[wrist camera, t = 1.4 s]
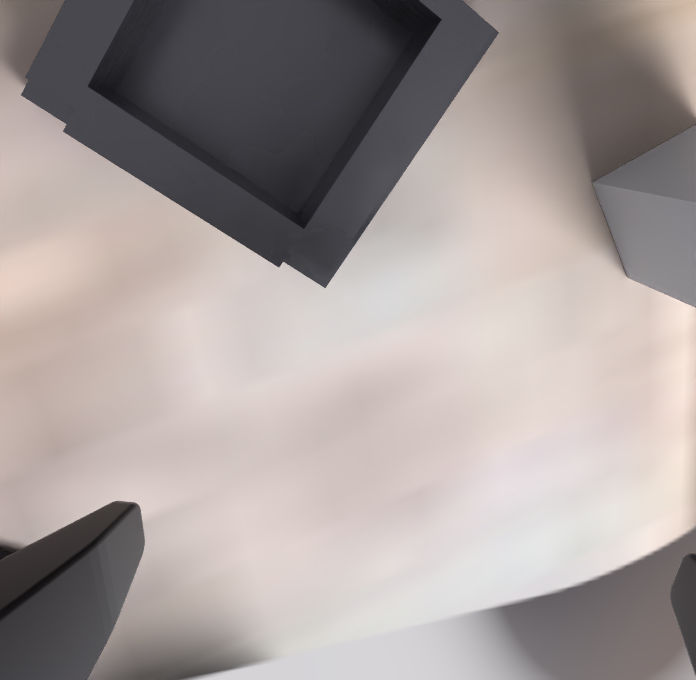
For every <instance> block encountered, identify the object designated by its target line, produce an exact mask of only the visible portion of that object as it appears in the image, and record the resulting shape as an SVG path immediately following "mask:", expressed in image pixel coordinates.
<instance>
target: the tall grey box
mask: <svg viewBox="0 0 696 680" xmlns="http://www.w3.org/2000/svg"><path fill="white" fill-rule="evenodd" d="M592 184H593V186H594V189H595V192H596V194H597V197H598V200H599V202H600V205H601V208H602V210H603V213H604V216H605V218H606V221H607V224H608V226H609V229H610V232H611V234H612V237H613V240H614V242H615V245H616V247H617V250H618V253H619V255H620V258H621V261H622V263H623V266H624V269H625V271H626V274H627V277H628V278H630V279H632V280H634V281H636V282H639V283H641V284H643V285H646V286H648V287H650V288H652V289H655V290H657V291H659V292H662V293H664V294H666V295H668V296H671V297H673V298H675V299H678V300H680V301H682V302H684V303H687V304H689V305H691V306H694V307H696V125H694V126H692V127H690V128H689V129H687V130H685V131H683V132H681V133H680V134H678V135H676V136H674V137H672V138H671V139H669V140H667V141H665V142H663V143H662V144H660V145H658V146H656V147H655V148H653V149H651V150H649V151H647V152H646V153H644V154H642V155H640V156H638V157H637V158H635V159H633V160H631V161H629V162H628V163H626V164H624V165H622V166H620V167H619V168H617V169H615V170H613V171H612V172H610V173H608V174H606V175H604V176H603V177H601V178H599V179H597V180H595V181H594V182H592Z"/></svg>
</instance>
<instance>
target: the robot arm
mask: <svg viewBox="0 0 696 680" xmlns="http://www.w3.org/2000/svg"><path fill="white" fill-rule="evenodd" d="M144 544H145V538H144V530H143V523H142V516H141V510H140V507H139V505H138V504H137V503H134V502H123V501H115V502H112V503H110V504H108V505H106V506H104V507H102V508H100V509H98V510H96V511H94V512H93V513H91V514H89V515H87V516H85V517H83V518H81V519H79V520H77V521H75V522H73V523H71V524H69V525H67V526H65V527H63V528H61V529H59V530H58V531H56V532H54V533H52V534H50V535H48V536H46V537H44V538H42V539H40V540H38V541H36V542H34V543H32V544H30V545H28V546H26V547H25V548H23V549H21V550H19V551H17V552H15V553H12V552H8V551H3V550H0V680H87V679H88V677H89V675H90V673H91V671H92V669H93V667H94V665H95V664H96V662H97V660H98V658H99V656H100V654H101V652H102V650H103V648H104V647H105V645H106V643H107V641H108V639H109V637H110V635H111V633H112V631H113V629H114V626H115V624H116V621H117V619H118V617H119V614H120V611H121V609H122V606H123V604H124V601H125V599H126V596H127V593H128V591H129V588H130V586H131V583H132V580H133V578H134V575H135V573H136V570H137V568H138V565H139V562H140V560H141V557H142V554H143V550H144ZM670 599H671V604H672V608H673V611H674V614H675V616H676V619H677V622H678V625H679V628H680V631H681V634H682V637H683V640H684V643H685V646H686V649H687V652H688V655H689V658H690V661H691V664H692V667H693V670H694V673H695V675H696V553H695V552H689V553H687V554H685V556H684V557H683V558H682V561H681V564H680V566H679V568H678V571H677V574H676V576H675V578H674V581H673V583H672V586H671V592H670Z"/></svg>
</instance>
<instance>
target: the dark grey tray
mask: <svg viewBox="0 0 696 680" xmlns="http://www.w3.org/2000/svg"><path fill="white" fill-rule="evenodd" d="M498 33H499V32H498V31H497V30H496V29H494V28H493V27H492V26H491V25H490V24H489V23H487V22H486V21H485V20H484V19H483V18H481V17H480V16H479V15H478V14H477V13H476V12H474V11H473V10H472V9H471V8H470V7H469V6H467V5H466V4H465V3H464V2H463V1H462V0H65V2H64V4H63V6H62V8H61V10H60V12H59V14H58V16H57V18H56V19H55V21H54V23H53V25H52V27H51V29H50V31H49V33H48V35H47V37H46V39H45V41H44V43H43V45H42V47H41V48H40V50H39V52H38V54H37V56H36V58H35V60H34V62H33V64H32V66H31V68H30V70H29V72H28V74H27V76H26V78H28V79H29V81H28V83H27V84H26V86H25V88H24V90H23V92H22V94H21V95H22V96H23V97H25V98H26V99H28V100H30V101H31V102H33V103H34V104H36V105H37V106H39V107H41V108H42V109H44V110H45V111H47V112H48V113H50V114H52V115H53V116H55V117H56V118H58V119H60V120H61V121H63V122H64V123H66V124H67V125H66V127H65V129H64V131H63V132H65V133H66V134H68V135H69V136H71V137H73V138H74V139H76V140H77V141H79V142H81V143H82V144H84V145H85V146H87V147H88V148H90V149H92V150H93V151H95V152H96V153H98V154H100V155H101V156H103V157H104V158H106V159H108V160H109V161H111V162H112V163H114V164H115V165H117V166H119V167H120V168H122V169H123V170H125V171H127V172H128V173H130V174H131V175H133V176H135V177H136V178H138V179H139V180H141V181H142V182H144V183H146V184H147V185H149V186H150V187H152V188H154V189H155V190H157V191H158V192H160V193H162V194H163V195H165V196H166V197H168V198H169V199H171V200H173V201H174V202H176V203H177V204H179V205H181V206H182V207H184V208H185V209H187V210H189V211H190V212H192V213H193V214H195V215H196V216H198V217H200V218H201V219H203V220H204V221H206V222H208V223H209V224H211V225H212V226H214V227H216V228H217V229H219V230H220V231H222V232H223V233H225V234H227V235H228V236H230V237H231V238H233V239H235V240H236V241H238V242H239V243H241V244H243V245H244V246H246V247H247V248H249V249H250V250H252V251H254V252H255V253H257V254H258V255H260V256H262V257H263V258H265V259H266V260H268V261H270V262H271V263H273V264H274V265H276V266H277V267H280V265H281V264H282V262H285V263H287V264H288V265H290V266H291V267H293V268H294V269H296V270H298V271H299V272H301V273H302V274H304V275H305V276H307V277H309V278H310V279H312V280H313V281H315V282H316V283H318V284H320V285H321V286H323V287H324V288H326V286H327V285H328V283H329V282H330V280H331V279H332V277H333V276H334V274H335V273H336V272H337V270H338V269H339V267H340V266H341V264H342V263H343V261H344V260H345V258H346V257H347V255H348V254H349V252H350V251H351V249H352V248H353V247H354V245H355V244H356V242H357V241H358V239H359V238H360V236H361V235H362V233H363V232H364V230H365V229H366V227H367V226H368V224H369V223H370V221H371V220H372V219H373V217H374V216H375V214H376V213H377V211H378V210H379V208H380V207H381V205H382V204H383V202H384V201H385V199H386V198H387V196H388V195H389V194H390V192H391V191H392V189H393V188H394V186H395V185H396V183H397V182H398V180H399V179H400V177H401V176H402V174H403V173H404V171H405V170H406V169H407V167H408V166H409V164H410V163H411V161H412V160H413V158H414V157H415V155H416V154H417V152H418V151H419V149H420V148H421V146H422V145H423V144H424V142H425V141H426V139H427V138H428V136H429V135H430V133H431V132H432V130H433V129H434V127H435V126H436V124H437V123H438V121H439V120H440V119H441V117H442V116H443V114H444V113H445V111H446V110H447V108H448V107H449V105H450V104H451V102H452V101H453V99H454V98H455V96H456V95H457V93H458V92H459V91H460V89H461V88H462V86H463V85H464V83H465V82H466V80H467V79H468V77H469V76H470V74H471V73H472V71H473V70H474V68H475V67H476V66H477V64H478V63H479V61H480V60H481V58H482V57H483V55H484V54H485V52H486V51H487V49H488V48H489V46H490V45H491V43H492V42H493V41H494V39H495V38H496V36H497V35H498Z"/></svg>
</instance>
